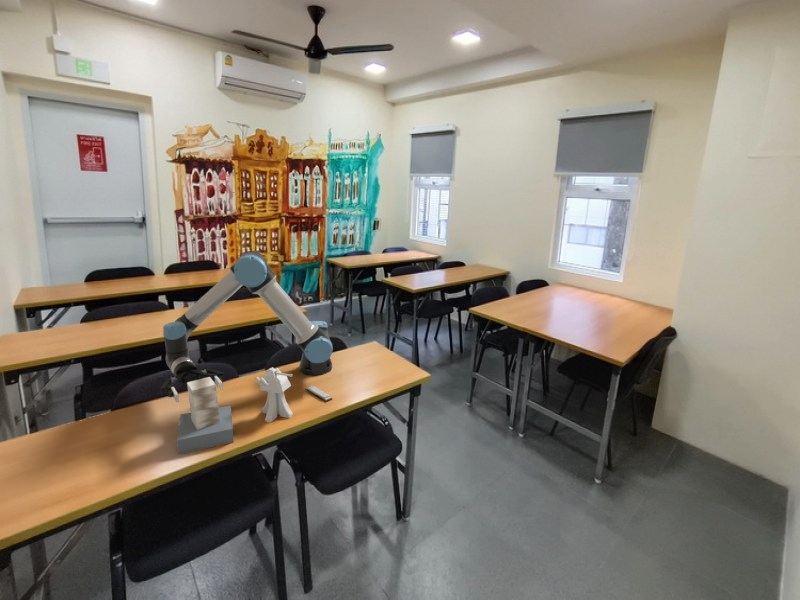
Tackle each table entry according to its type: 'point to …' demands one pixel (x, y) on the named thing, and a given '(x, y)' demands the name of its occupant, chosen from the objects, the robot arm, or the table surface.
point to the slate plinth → (204, 432)
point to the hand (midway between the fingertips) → (200, 392)
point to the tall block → (203, 402)
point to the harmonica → (319, 393)
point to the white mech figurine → (275, 394)
